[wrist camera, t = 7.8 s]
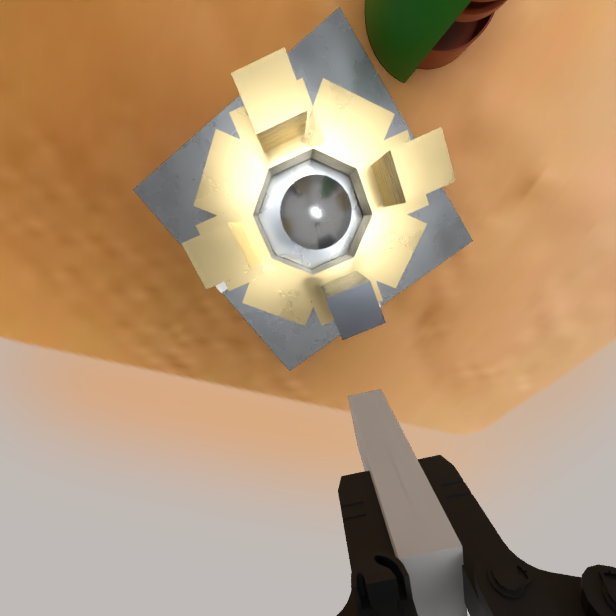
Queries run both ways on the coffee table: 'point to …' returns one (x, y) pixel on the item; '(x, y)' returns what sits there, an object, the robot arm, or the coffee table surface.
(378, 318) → the ring nut
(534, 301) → the coffee table surface
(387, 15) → the motor
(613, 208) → the coffee table surface
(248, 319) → the flange plate
